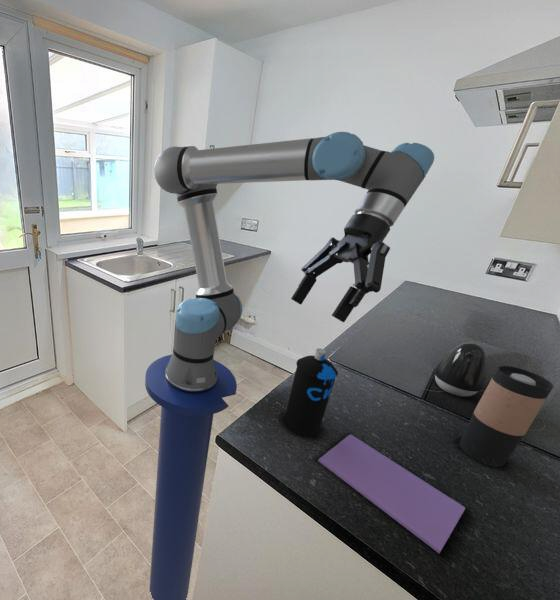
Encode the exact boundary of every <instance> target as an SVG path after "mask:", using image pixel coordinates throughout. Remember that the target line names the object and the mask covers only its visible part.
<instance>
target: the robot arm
mask: <svg viewBox="0 0 560 600" xmlns="http://www.w3.org/2000/svg"><path fill="white" fill-rule="evenodd" d="M434 161H435V154H434V151H433V150H432V149H431V148H429V147H428V146H427V145H425V144H422V143H419V142H412V143H410V142H404V143H401V144H399V145H397V146H396V147H395V148H394V149H393V150H391V151H388V150H387V151H386V150H381V149H378V148H374V147H371V146H368V145H364V142H363V141H362V140H361V138H360V137H359V136H358V135H356V134H354V133H350V132H349V131H336V132H333V133H330V134H328V135H326V136H320V137H319V136H318V137H313V138H312V137H310V138H301V139H300V138H299V139H291V140H290V139H289V140H282V141H280V140H279V141H272V142H271V141H270V142H263V143H254V144H252V143H251V144H244V145H233V146H225V147H216V148H214V147H213V148H206V149H199V148H198V147H197V146H195V145H189V146H170V147H167V148H165V149H164V150H162V151H161V152H160V153H159V154H158V156H157V158H156V160H155V162H154V167H153V175H154V179H155V181H156V183H157V185H158V186H159V187H160V188H161V189H162V190H163V191H165V192H166V193H169V194H174V195H176V199H177V204H178V206H180V207H181V208H183V209H184V213H185V219H186V225H187V230H188V235H189V240H190V247H191V251H192V257H193V262H194V268H195V272H196V278H197V284H198V288H197V290H196V291H195V293H194V295H195V297H194V298H188V299H185V300H183V301H182V302H180V303H179V304H178V306H177V307H176V312H175V317H174V333H173V346H172V348H173V349H172V353H171V355H172V356H171V358H170V361H169V363H168V365H167V367H166V370H165V379H166V381H167V382H168V384H169V385H170V386H172V387H173V388H175V389H177V390H179V391H182V392H185V393H192V394H198V393H204V392H207V391H210V390H211V389H213V388H214V387H215V385H216V382H217V372H216V368H215V363H214V360H215V359H214V354H215V348H216V341H217V339H219V338H220V337H221V336H222V335H224V334H225V333H226V332H228V331H229V330H231V329H232V328H234V327H235V326H236V325H237V323H238V322H239V321H240V319H241V318H242V314H243V303H242V301H241V299H240V297H239V296H238V295H237V294H236V293H235V291H234V286H233V285H231V283H229V282H228V280H227V274H226V268H225V262H224V258H223V257H224V255H223V250H222V245H221V239H220V233H219V228H218V221H217V215H216V211H215V205H214V201H215V200H216V198H218V197H217V196H218V189H217V186H218V185H222V184H223V185H224V184H245V183H248V184H249V183H250V184H251V183H274V182H300V181H302V182H303V181H339V182H343V183H346V184H349V185H352V186H355V187H358V188H360V189H364V190H367V191H366V193H365V194H364V196H363V197H362V199H361V200H360V202H359V204H358V205H357V207H356V209H354V214H352V215H351V217H350V219H349V220H348V221H347V223H346V224H345V226H344V228H343V232H344V236H343V237H342V238H341V239H340V240H338V239H336V238H335V237H333V236H332V237H330V239H329V240H328V241H327V242H326V244H325V245H324V246H323V247H322V248H321V249H320V250H319V251H318V252H317V253H316V254H315V255H313V257H312V258H311V259H310V260H308V261H307V262H306V263H305V265H303V266H302V267H301V268H300V269H301V270H300V271H301V272H303V273H304V276H303V278H302V279H301V280H300V281H299V284H298V286H297V288H296V290H295V292H294V293H293V295H292V296H291V298H290V300H292V301H294V302H295V303H297V304H298V305H302V304H303V303H304V301H305V300H306V298H307V296H308V295H309V294H310V292H311V290H312V289H313V287H314V286H315V284H316V282H317V278H318V277H319V276H321V275H323V274H324V273H325V272H327V271H328V270H330V269H331V268H333V267H335V266H336V265H337V264H342V263H351V264H353V274H354V283H353V284H352V285H350V286H349V287H348V289H347V291H346V292H345V294H344V295H343V297H342V298H341V300H340V301H339V303H338V304H337V306H336V308H335V309H334V311H333V312H332V314H331V317H333V318H335V319H337V320H338V321H339V322H342V323H345V322H346V321H347V319H348V318H349V316H350V314H351V313H352V311H353V310H354V308H357V307H358V306H359V305H360V303H361V301H362V300H363V298H365V295H366V294H369V293H371V292H374V293H376V294H377V293H379V292H380V291H381V289H382V284H383V283H382V282H383V275H384V269H385V264H386V257H387V255H388V254H389V252H390V250H391V247H390V246H389V245H388V244H387V243H385V242H384V240H385V239H386V237H387V236H388V234H389V233H390V231H391V227H393V226H394V225H395V223H396V221H398V219H399V217H400V215H401V214H402V212H403V211H404V209H405V208H406V207H407V205H408V203H409V202H410V201H411V199H412V198H413V196H414V195H415V193H416V192H417V190H418V188H419V187H420V185H421V184H422V182H424V180H425V178H426V176H427V174H428V173H429V171H430V170H431V168H432V166H433V164H434Z"/></svg>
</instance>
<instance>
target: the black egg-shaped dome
mask: <svg viewBox="0 0 560 600" xmlns="http://www.w3.org/2000/svg"><path fill="white" fill-rule="evenodd" d="M433 372H434V380H435V383H436V385H437V386H438V387H439V388H440V390H441V389H442V391H444V392H445V393H448V394H450V395H453V396H457V397H465V398H466V397H472V396H474V395H476V394H477V393H479V392H480V391H482V390H483V388H484V387H485V383H486V379H487V372H488V359H487V354H486V351H485V350H484V348H483V347H482V346H481V345H479V344H477V343H474V342H463V343H461V344H458V345H457V346H455V347H454V348H452V349H451V350H450V351H449V352H448V353H447V354H445V356H444V357H443V358H442V359H441V361H440V362H439V363H438V364H437V366H436V367H435V369H434V371H433Z"/></svg>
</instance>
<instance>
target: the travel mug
mask: <svg viewBox="0 0 560 600" xmlns="http://www.w3.org/2000/svg"><path fill="white" fill-rule="evenodd" d="M553 389H554V384H553V383H552V382H551V381H550V380H549V379H547V378H545V377H543V376H541V375H539V374H537V373H534V372H532V371H529V370H526V369H523V368H519V367H515V366H510V365H500V366H498V367H497V368H496V370H495V372H494V373H493V375H492V377H491V379H490V381H489V383H488V384H487V387H486V388H485V390H484V392H483V394H482V396H481V398H480V400H479V401H478V403H477V405H476V406H475V408H474V411H473V413H472V415H471V417H470V419H469V421H468V423H467V426H466V428H465V430H464V432H463V434H462V437H461V439H460V441H459V447H460V449H461V450H462V451H463V452H464V453H465V454H466V455H468V456H469V457H470V458H472V459H473V460H475V461H478V462H479V463H481V464H484V465H486V466H490V467H495V468H500V467H503V466H504V465H505V464H506V463H507V461H508V460H509V459H510V457H511V455H512V454H513V453H514V452H515V450H516V448H517V447H518V445H519V444H520V443H521V441H522V440H523V438H524V437H525V435H526V434H527V432H528V431H529V429H530V427H531V425H532V424H533V422H534V421H535V419H536V417H537V415H538V414H539V412H540V410H541V409H542V407H543V405H544V403H546V400H547V398H548V397H549V395H550V393H551V391H552V390H553Z"/></svg>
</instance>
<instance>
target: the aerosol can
mask: <svg viewBox="0 0 560 600" xmlns="http://www.w3.org/2000/svg"><path fill="white" fill-rule="evenodd" d="M326 354H327V350H325V349H324V348H320V347H319V348H316V350H315V353H314V355H305V356H303V357H301V358H298V359H297V360H296V367H295V368H296V369H295V372H294V376H293V381H292V385H291V389H290V394H289V398H288V401H287V406H286V410H285V413H284V415H283V417H282V421H283V424H284V426H285V427H286V428H287V429H288V430H290V431H291V432H292V433H294V434H296V435H297V436H300V437H304V438H315V437H317V436H319V435H320V434H321V430H322V429H321V426H322V423H323V420H324V416H325V414H326V410H327V406H328V403H329V401H330V397H331V393H332V390H333V387H334V383H335V379H336V378H337V377H338V375H339V372H338V370H337V368H336V367H335V365H334V364H333V363H332V362H331V361H330V360H328V359H326Z"/></svg>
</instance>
